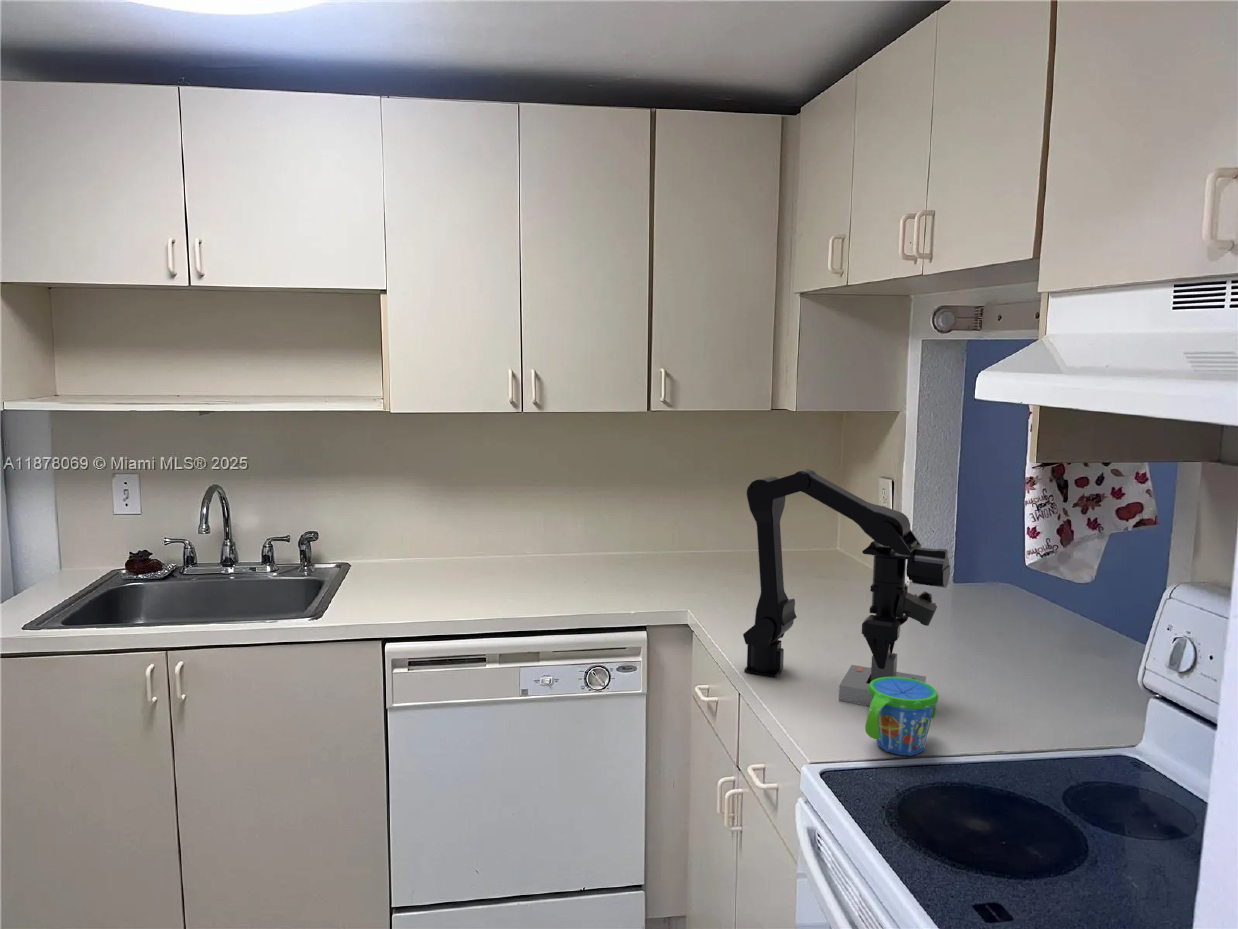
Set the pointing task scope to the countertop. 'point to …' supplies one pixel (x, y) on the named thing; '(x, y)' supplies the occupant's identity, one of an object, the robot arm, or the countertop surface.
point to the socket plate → (863, 684)
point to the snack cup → (900, 714)
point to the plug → (889, 667)
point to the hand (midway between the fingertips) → (885, 660)
